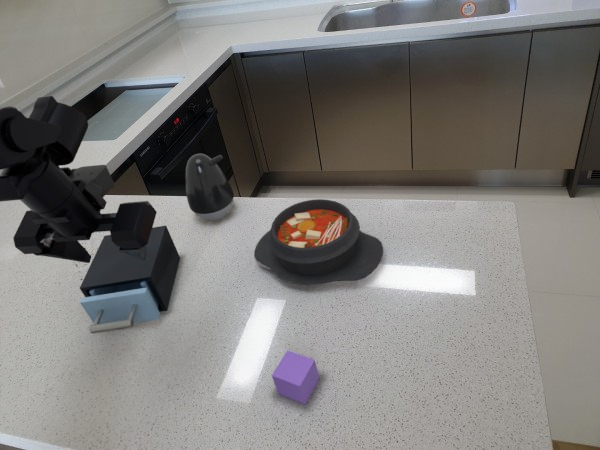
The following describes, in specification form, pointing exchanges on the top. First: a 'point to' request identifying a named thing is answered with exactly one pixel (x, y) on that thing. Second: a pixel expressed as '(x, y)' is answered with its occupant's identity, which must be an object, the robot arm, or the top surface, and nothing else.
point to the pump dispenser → (207, 187)
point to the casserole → (318, 245)
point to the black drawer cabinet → (136, 266)
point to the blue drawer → (120, 306)
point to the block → (296, 377)
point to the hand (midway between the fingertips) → (117, 258)
